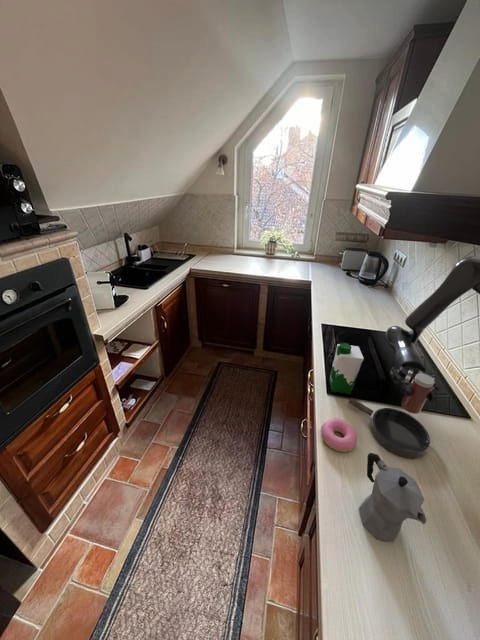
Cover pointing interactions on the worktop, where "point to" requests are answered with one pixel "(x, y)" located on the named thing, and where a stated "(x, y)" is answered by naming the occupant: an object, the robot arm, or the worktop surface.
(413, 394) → the shaker
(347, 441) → the doughnut
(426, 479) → the worktop surface
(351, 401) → the pan handle
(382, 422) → the pan
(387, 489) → the coffeepot
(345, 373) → the milk carton
